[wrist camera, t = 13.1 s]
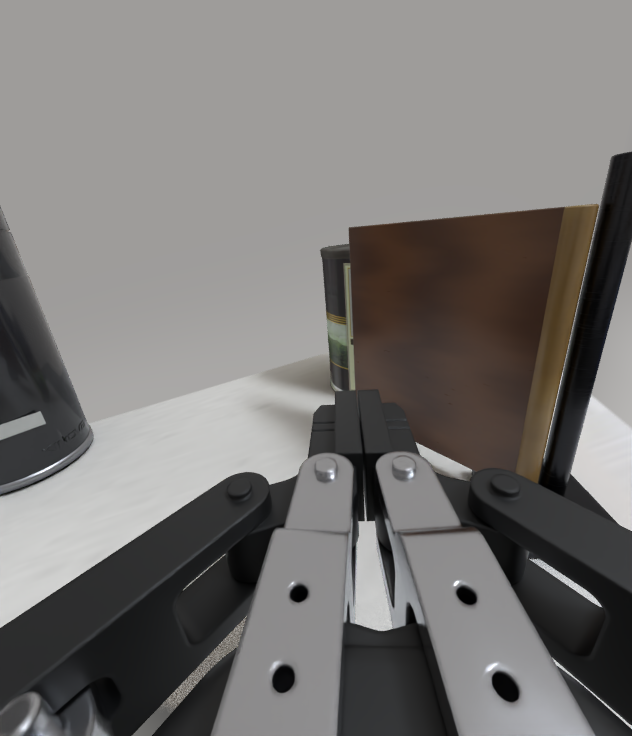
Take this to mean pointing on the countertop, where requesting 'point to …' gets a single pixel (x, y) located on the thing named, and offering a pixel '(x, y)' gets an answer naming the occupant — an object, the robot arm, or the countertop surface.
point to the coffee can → (339, 315)
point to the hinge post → (590, 334)
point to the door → (470, 326)
